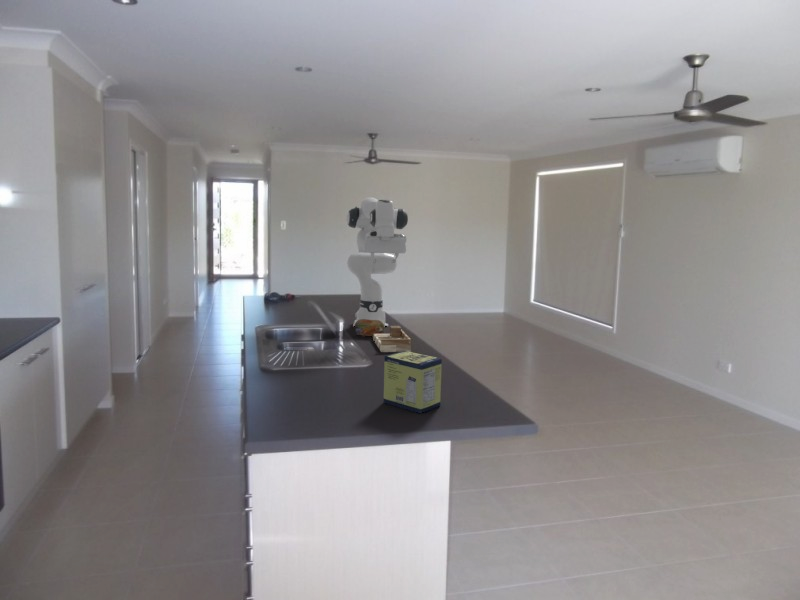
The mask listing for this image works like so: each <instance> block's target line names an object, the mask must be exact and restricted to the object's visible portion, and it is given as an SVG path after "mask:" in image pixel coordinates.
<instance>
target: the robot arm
mask: <svg viewBox="0 0 800 600" xmlns="http://www.w3.org/2000/svg"><path fill="white" fill-rule="evenodd" d="M408 220H409V217H408V213H407V212H406V210H405V209H404V208H395V207H394V202H393V201H392V200H390V199H377V198H375V197H371V196H370V197H369V196H368V197H365V198H364V199H362V201H361V204H360V207H357V206H355V207H354V208H351V209H349V210H348V212H347V214H346V221H347V225H348V227H349V228H353V229H360V230H359V231H358V232H357V235H356V245H357V250H358V252H355V253H351V254H350V255H349V256H348V259H347V262H346V263H347V268H348V270H349V271H350V273H352V274H353V275H355V277H356V278H357V280H358V282H359V286H360V299H359V309H357V312H355V315H354V316H355V320H354V321H353V325H352V327H354V326H355V323H356V322H357V321H358V320H360V319H369V320H379V321H381V322H382V323H383V324H384V326H387V327H389V324H388V323H386V310H384V308H383V306H384V302H383V286H382V284H381V283H380V282H379V281H377V280H375V279H373V278H372V275H385V274H390V273H393V272H395V270H396V268H397V265H398V262H397V259H398V258H399V254H405V253H406V251H407V246H406V243H407V236H406V235H405V234H403V233H399V234H398V233H395V229H396V230H403V229H404V228H405V227H406V226H407V224H408Z"/></svg>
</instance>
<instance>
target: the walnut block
mask: <svg viewBox="0 0 800 600" xmlns="http://www.w3.org/2000/svg"><path fill="white" fill-rule="evenodd" d="M401 329H402V327H401V326H400V325H390V326H389V334H390V336H391V337H401Z"/></svg>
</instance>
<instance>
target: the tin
mask: <svg viewBox="0 0 800 600" xmlns="http://www.w3.org/2000/svg"><path fill="white" fill-rule="evenodd" d="M353 329H354V331H355V333H356V335H358V336H359V335H363V336H362V337H365V336H372V337H371V338H373V334H385V330H386V327H385V326H384V324H383V323H382V322H381V321H379V320H369V319H360V320H358V321H357V322H356V323H355V327H354V326H353Z"/></svg>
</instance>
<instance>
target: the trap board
mask: <svg viewBox="0 0 800 600" xmlns="http://www.w3.org/2000/svg"><path fill="white" fill-rule="evenodd" d="M372 338H373V339H372V340H373V342H374V341H375V342H374V343H375V345H376V346H377V348H378V349H379V351H380V352H381V353H398V352H402V351H409V352H412V351H411V350H412V349H411V348H412V347H411V346H412V339H411V338H410V336H408V335H407V333H406V332H405V331H404V330H403V329H402V328H401V337H391V336H390V333H383V334H373V337H372Z"/></svg>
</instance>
